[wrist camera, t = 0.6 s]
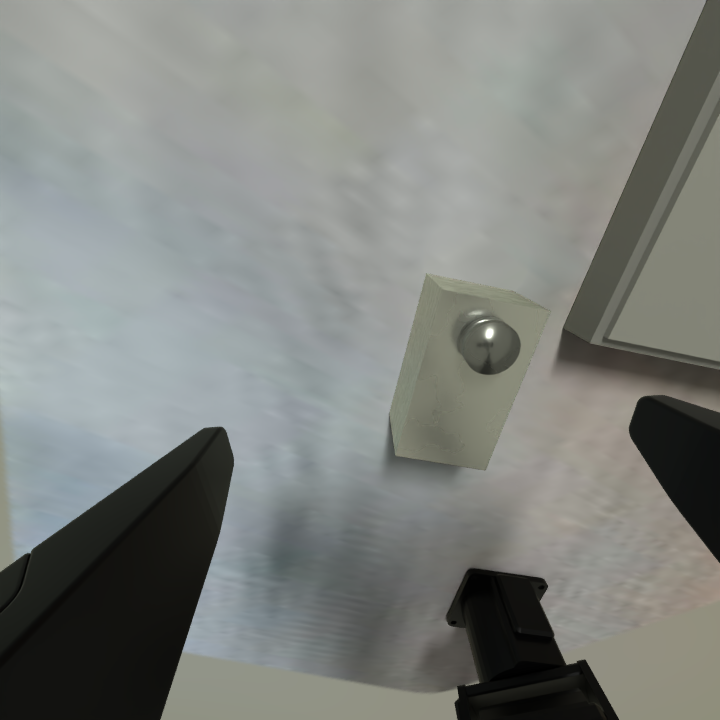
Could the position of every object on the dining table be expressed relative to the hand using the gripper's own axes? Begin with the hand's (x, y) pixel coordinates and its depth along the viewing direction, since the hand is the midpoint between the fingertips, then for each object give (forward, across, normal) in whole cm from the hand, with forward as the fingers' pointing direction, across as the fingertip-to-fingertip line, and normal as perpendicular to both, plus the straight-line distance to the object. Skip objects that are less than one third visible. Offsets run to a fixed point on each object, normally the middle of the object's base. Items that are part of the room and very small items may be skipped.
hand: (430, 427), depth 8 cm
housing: (+13, -4, +5) cm, 15 cm away
